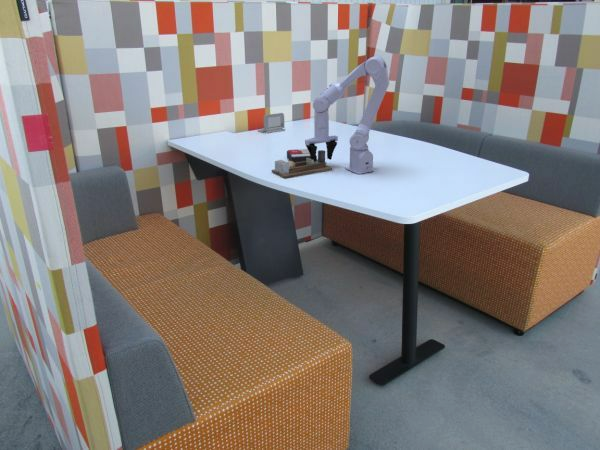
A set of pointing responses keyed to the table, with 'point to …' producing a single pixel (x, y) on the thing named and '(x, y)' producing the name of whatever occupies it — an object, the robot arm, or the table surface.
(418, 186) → the table surface
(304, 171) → the base
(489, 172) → the table surface
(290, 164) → the ball
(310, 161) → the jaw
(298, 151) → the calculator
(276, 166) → the anvil
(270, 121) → the handheld gaming console
